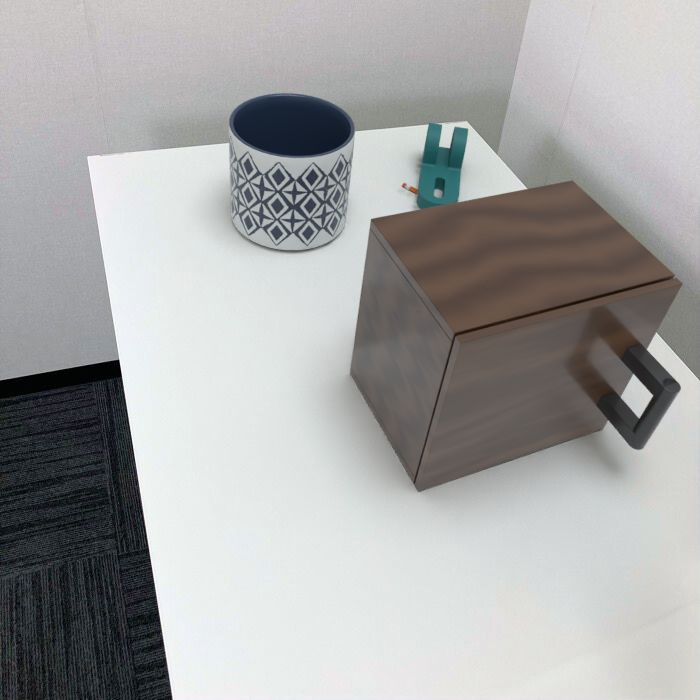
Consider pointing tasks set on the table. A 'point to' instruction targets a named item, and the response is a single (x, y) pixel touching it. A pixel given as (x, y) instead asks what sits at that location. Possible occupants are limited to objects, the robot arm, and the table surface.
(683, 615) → the table surface
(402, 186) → the pencil
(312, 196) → the planter
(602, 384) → the door
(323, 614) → the table surface
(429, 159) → the bracket
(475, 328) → the cupboard
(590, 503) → the table surface
